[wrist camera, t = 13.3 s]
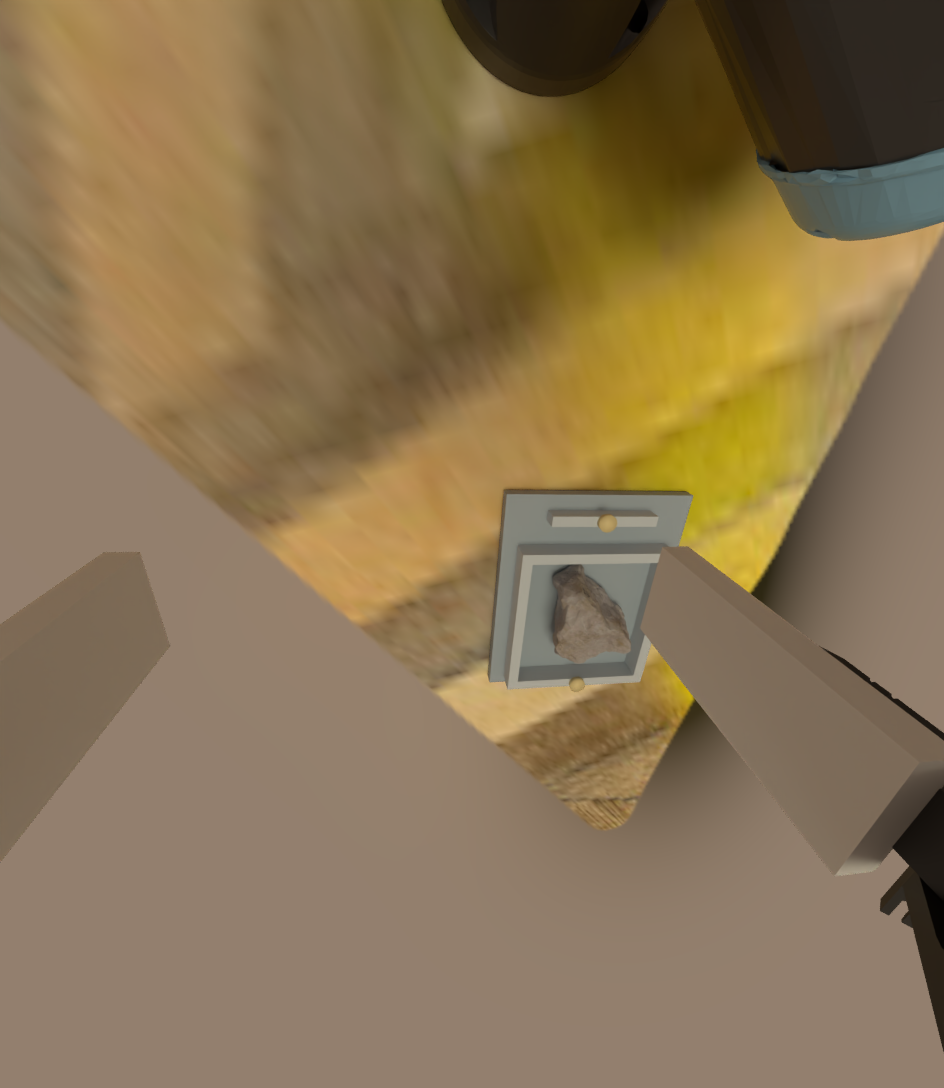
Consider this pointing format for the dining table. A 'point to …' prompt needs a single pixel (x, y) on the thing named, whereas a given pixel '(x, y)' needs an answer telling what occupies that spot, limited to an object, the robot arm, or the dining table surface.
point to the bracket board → (608, 559)
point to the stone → (586, 618)
